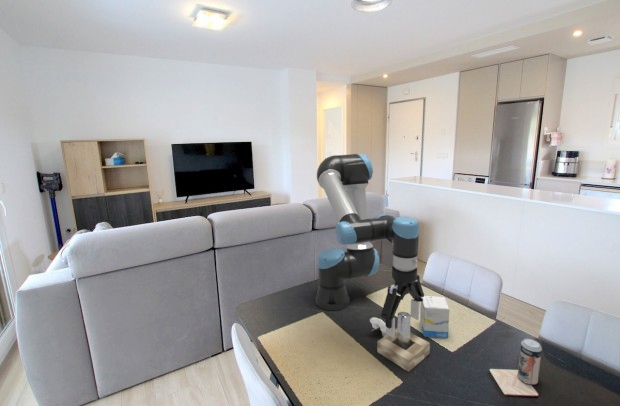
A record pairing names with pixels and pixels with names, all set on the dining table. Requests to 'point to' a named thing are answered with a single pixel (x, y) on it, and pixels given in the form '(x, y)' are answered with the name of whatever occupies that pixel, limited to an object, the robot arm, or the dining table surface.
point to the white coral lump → (379, 325)
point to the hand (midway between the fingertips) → (402, 326)
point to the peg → (403, 330)
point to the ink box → (434, 317)
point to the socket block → (404, 351)
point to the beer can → (529, 361)
